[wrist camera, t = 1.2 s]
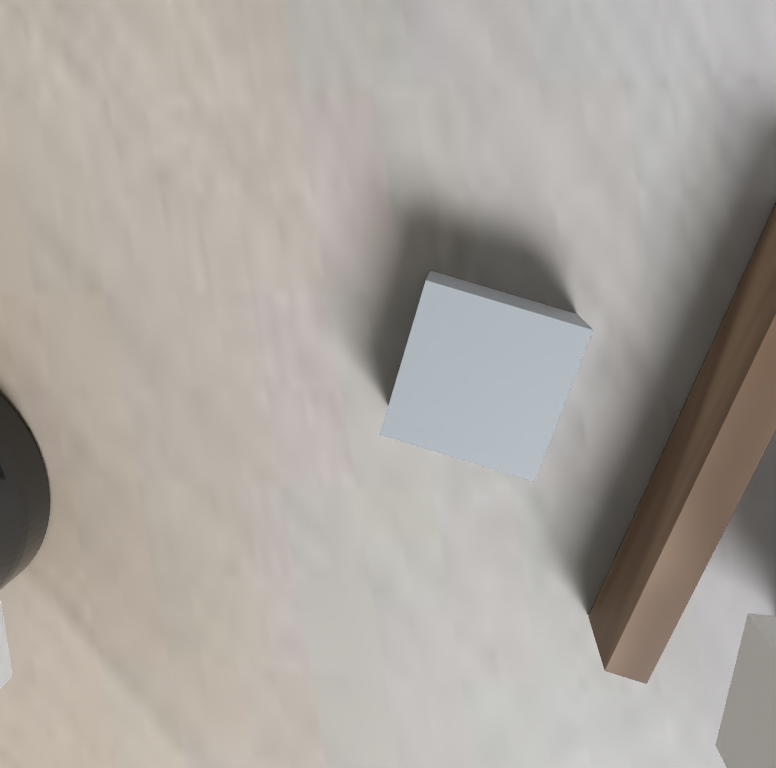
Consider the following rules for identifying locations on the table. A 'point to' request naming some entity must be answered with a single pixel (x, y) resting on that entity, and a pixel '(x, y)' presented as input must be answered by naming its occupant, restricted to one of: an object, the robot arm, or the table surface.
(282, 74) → the table surface
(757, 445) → the board
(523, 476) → the block
